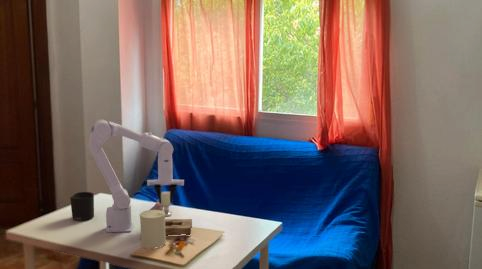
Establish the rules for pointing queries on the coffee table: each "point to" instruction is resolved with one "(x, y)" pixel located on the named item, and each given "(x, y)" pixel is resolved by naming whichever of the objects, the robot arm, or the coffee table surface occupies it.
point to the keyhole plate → (178, 226)
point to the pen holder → (82, 206)
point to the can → (152, 228)
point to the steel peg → (166, 203)
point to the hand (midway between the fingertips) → (166, 202)
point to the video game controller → (157, 206)
